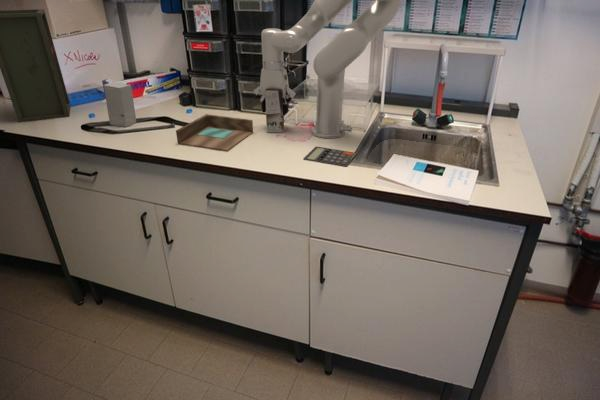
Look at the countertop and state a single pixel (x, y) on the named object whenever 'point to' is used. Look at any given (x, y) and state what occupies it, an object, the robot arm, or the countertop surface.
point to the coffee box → (274, 110)
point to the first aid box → (31, 66)
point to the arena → (215, 132)
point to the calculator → (330, 156)
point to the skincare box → (120, 104)
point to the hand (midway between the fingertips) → (275, 112)
